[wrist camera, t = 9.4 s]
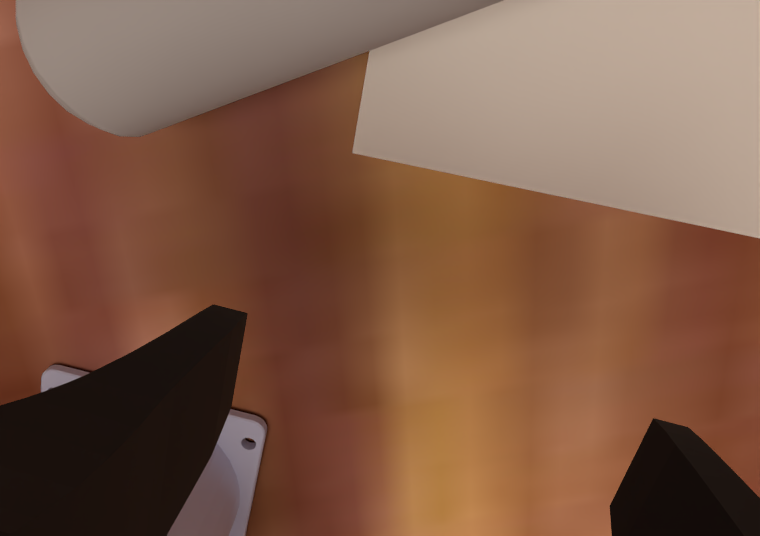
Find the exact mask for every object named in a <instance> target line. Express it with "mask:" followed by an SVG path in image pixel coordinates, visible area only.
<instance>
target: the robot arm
mask: <svg viewBox="0 0 760 536" xmlns="http://www.w3.org/2000/svg"><path fill="white" fill-rule="evenodd" d="M247 314H248V313H244V312H241V311H237V310H233V309H229V308H225V307H221V306H217V305H212V306H210V307H208V308H206V309H204V310H203V311H201V312H199V313H198V314H196V315H194V316H193V317H191V318H189V319H188V320H186V321H185V322H183V323H181V324H180V325H178V326H176V327H175V328H173V329H171V330H170V331H168V332H166V333H165V334H163V335H161V336H160V337H158V338H156V339H154V340H153V341H151V342H149V343H147V344H145V345H144V346H142V347H140V348H138V349H137V350H135V351H133V352H131V353H129V354H128V355H126V356H124V357H122V358H120V359H117V360H115V361H113V362H111V363H109V364H107V365H105V366H103V367H101V368H99V369H97V370H95V371H93V372H91V373H89V372H85V371H82V370H78V369H74V368H70V367H66V366H62V365H52V366H50V367H49V368H48V369H47V370H46V371H45V372H44V373H43V374H42V377H41V393H39V394H36V395H33V396H30V397H27V398H24V399H21V400H17V401H14V402H11V403H7V404H4V405H1V406H0V536H246V531H247V526H248V521H249V516H250V511H251V506H252V502H253V497H254V492H255V487H256V482H257V477H258V472H259V467H260V462H261V458H262V453H263V448H264V443H265V438H266V433H267V425H266V423H265V421H264V420H263V419H262V418H260V417H258V416H256V415H252V414H248V413H244V412H241V411H237V410H233V409H231V405H232V399H233V394H234V388H235V382H236V377H237V371H238V365H239V360H240V354H241V348H242V342H243V337H244V331H245V325H246V320H247ZM245 438H251V439H253V440H254V441H255V443H250V442H248V441H247V440H246V439H245ZM610 515H611V529H612V536H760V498H759V497H758V496H757V495H756V494H755V493H754V492H753V491H752V490H751V489H750V488H749V487H748V486H747V485H746V484H745V482H744V481H743V480H742V479H741V478H740V477H739V476H738V475H737V474H736V473H735V472H734V471H733V470H732V469H731V468H730V467H729V466H728V465H727V464H726V463H725V462H724V461H723V460H722V459H721V458H720V457H719V456H718V455H717V454H716V453H715V452H714V451H713V450H712V449H711V448H710V447H709V446H708V445H707V444H706V443H705V442H704V441H703V440H702V439H701V438H700V437H699V436H697V435H696V434H695V433H694V432H693V431H692V430H691V429H689V428H688V427H685V426H681V425H677V424H673V423H669V422H666V421H662V420H658V419H654V418H653V420H652V422H651V424H650V426H649V428H648V430H647V432H646V434H645V436H644V438H643V440H642V442H641V444H640V446H639V448H638V450H637V452H636V454H635V456H634V458H633V460H632V462H631V464H630V466H629V468H628V470H627V472H626V474H625V476H624V478H623V480H622V482H621V484H620V486H619V489H618V491H617V493H616V495H615V497H614V499H613V501H612V503H611V505H610Z"/></svg>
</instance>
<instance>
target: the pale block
mask: <svg viewBox="0 0 760 536" xmlns="http://www.w3.org/2000/svg"><path fill="white" fill-rule="evenodd" d="M352 153H354V154H359V155H364V156H369V157H373V158H378V159H383V160H388V161H393V162H397V163H402V164H407V165H412V166H416V167H421V168H426V169H431V170H436V171H440V172H445V173H450V174H455V175H460V176H464V177H469V178H474V179H479V180H483V181H488V182H493V183H498V184H503V185H507V186H512V187H517V188H522V189H526V190H531V191H536V192H541V193H546V194H550V195H555V196H560V197H565V198H570V199H574V200H579V201H584V202H589V203H593V204H598V205H603V206H608V207H613V208H617V209H622V210H627V211H632V212H636V213H641V214H646V215H651V216H656V217H660V218H665V219H670V220H675V221H680V222H684V223H689V224H694V225H699V226H703V227H708V228H713V229H718V230H723V231H727V232H732V233H737V234H742V235H746V236H751V237H756V238H760V0H503V1H501V2H498V3H495V4H493V5H490V6H487V7H485V8H482V9H479V10H477V11H474V12H471V13H469V14H466V15H463V16H461V17H458V18H455V19H453V20H450V21H447V22H445V23H442V24H440V25H437V26H434V27H432V28H429V29H426V30H424V31H421V32H418V33H416V34H413V35H410V36H408V37H405V38H402V39H400V40H397V41H394V42H392V43H389V44H386V45H384V46H381V47H378V48H376V49H373V50H370V51H369V57H368V63H367V68H366V74H365V80H364V86H363V92H362V98H361V104H360V110H359V116H358V121H357V127H356V133H355V139H354V145H353V151H352Z"/></svg>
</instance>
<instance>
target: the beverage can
mask: <svg viewBox="0 0 760 536" xmlns="http://www.w3.org/2000/svg"><path fill="white" fill-rule="evenodd" d="M501 1H503V0H16V24H17V29H18V33H19V37H20V41H21V45H22V49H23V51H24V54H25V56H26V58H27V60H28V62H29V64H30V66H31V68H32V70H33V72H34V74H35V75H36V77H37V78H38V80H39V81H40V82H41V84H42V85H43V86H44V88H45V89H46V91H47V92H48V93H49V94H50V95H51V96H52V97H53V98H54V99H55V100H56V101H57V102H58V103H59V104H60V105H61V106H62V107H63V108H64V109H65V110H67V111H68V112H70V113H71V114H73V115H74V116H76V117H78V118H79V119H81V120H83V121H84V122H86V123H87V124H90V125H92V126H94V127H96V128H99V129H101V130H104V131H106V132H109V133H112V134H114V135H117V136H131V137H141V136H144V135H146V134H149V133H152V132H155V131H157V130H160V129H163V128H165V127H168V126H171V125H173V124H176V123H179V122H181V121H184V120H187V119H189V118H192V117H195V116H197V115H200V114H203V113H205V112H208V111H211V110H213V109H216V108H219V107H221V106H224V105H227V104H229V103H232V102H235V101H237V100H240V99H243V98H245V97H248V96H251V95H253V94H256V93H259V92H261V91H264V90H267V89H269V88H272V87H274V86H277V85H280V84H282V83H285V82H288V81H290V80H293V79H296V78H298V77H301V76H304V75H306V74H309V73H312V72H314V71H317V70H320V69H322V68H325V67H328V66H330V65H333V64H336V63H338V62H341V61H344V60H346V59H349V58H352V57H354V56H357V55H360V54H362V53H365V52H368V51H370V50H373V49H376V48H378V47H381V46H384V45H386V44H389V43H392V42H394V41H397V40H400V39H402V38H405V37H408V36H410V35H413V34H416V33H418V32H421V31H424V30H426V29H429V28H432V27H434V26H437V25H440V24H442V23H445V22H447V21H450V20H453V19H455V18H458V17H461V16H463V15H466V14H469V13H471V12H474V11H477V10H479V9H482V8H485V7H487V6H490V5H493V4H495V3H498V2H501Z"/></svg>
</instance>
